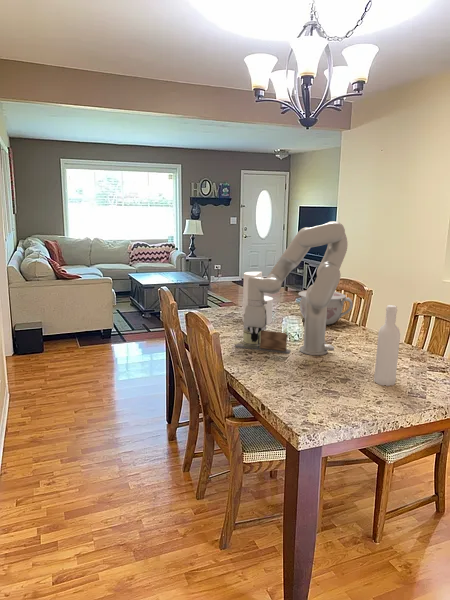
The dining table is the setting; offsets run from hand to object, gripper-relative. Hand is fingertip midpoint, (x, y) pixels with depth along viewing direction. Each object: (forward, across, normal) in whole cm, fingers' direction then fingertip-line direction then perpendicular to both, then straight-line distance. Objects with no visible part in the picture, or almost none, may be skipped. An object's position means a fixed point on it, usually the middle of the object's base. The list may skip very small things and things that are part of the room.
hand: (254, 341), depth 210 cm
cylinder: (+4, +12, -51) cm, 52 cm away
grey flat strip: (+4, -4, 0) cm, 5 cm away
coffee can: (+4, +3, -8) cm, 9 cm away
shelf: (+4, -9, 0) cm, 10 cm away
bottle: (+4, -58, +22) cm, 62 cm away
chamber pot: (+4, -23, -63) cm, 67 cm away
